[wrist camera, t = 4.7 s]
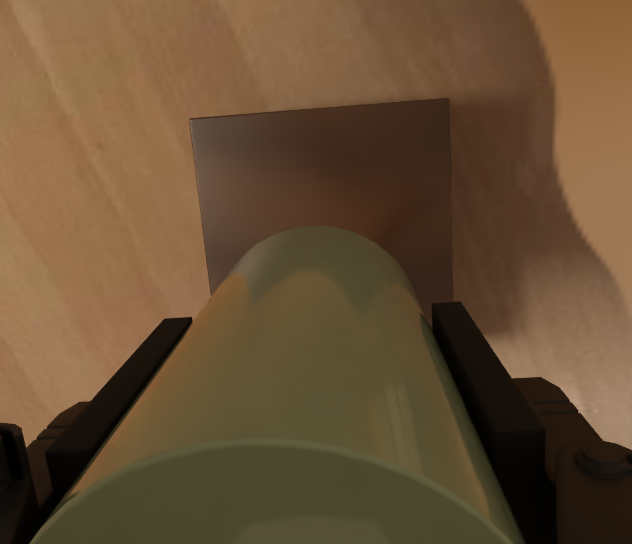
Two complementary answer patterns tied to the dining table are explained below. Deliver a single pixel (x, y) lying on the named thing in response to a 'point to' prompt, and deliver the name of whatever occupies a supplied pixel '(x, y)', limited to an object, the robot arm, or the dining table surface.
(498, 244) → the dining table surface
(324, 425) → the canister
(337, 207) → the walnut chest
